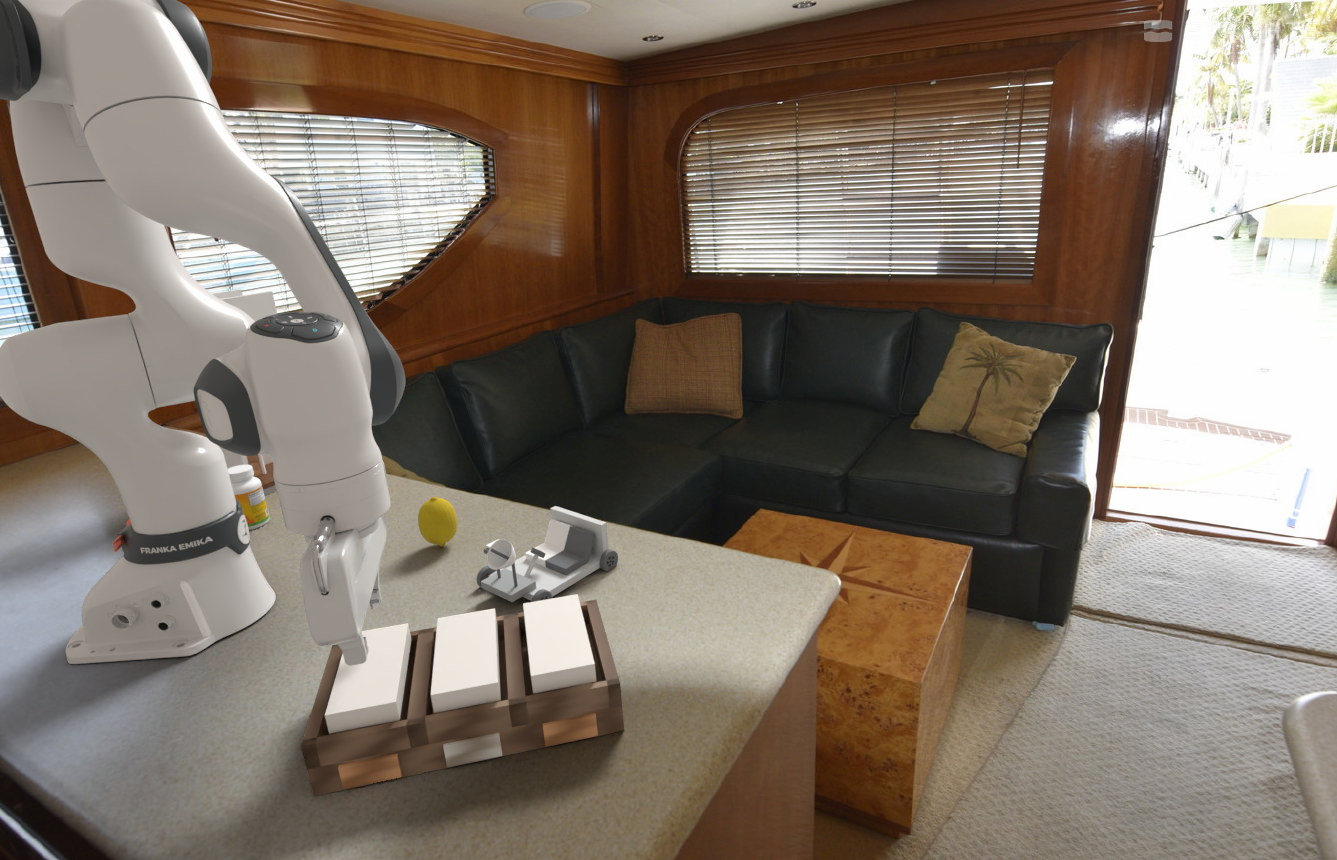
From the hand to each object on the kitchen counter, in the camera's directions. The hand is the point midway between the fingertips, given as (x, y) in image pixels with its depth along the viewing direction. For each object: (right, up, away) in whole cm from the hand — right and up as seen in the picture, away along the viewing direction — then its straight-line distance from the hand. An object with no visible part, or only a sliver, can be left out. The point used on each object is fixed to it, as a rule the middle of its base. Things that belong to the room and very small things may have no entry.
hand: (365, 631), depth 71 cm
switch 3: (+17, -3, +6) cm, 19 cm away
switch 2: (+9, -4, +4) cm, 11 cm away
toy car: (+12, -2, +30) cm, 32 cm away
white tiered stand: (-46, +9, +69) cm, 84 cm away
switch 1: (0, -6, +2) cm, 6 cm away
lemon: (-5, +2, +41) cm, 41 cm away
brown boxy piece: (+9, -9, +6) cm, 14 cm away
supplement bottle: (-40, +3, +52) cm, 65 cm away
